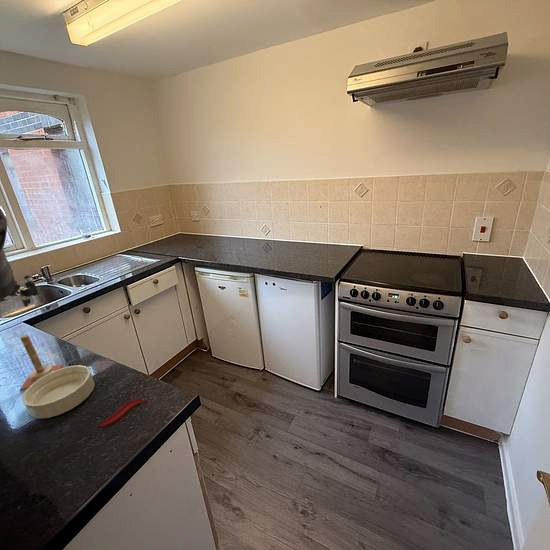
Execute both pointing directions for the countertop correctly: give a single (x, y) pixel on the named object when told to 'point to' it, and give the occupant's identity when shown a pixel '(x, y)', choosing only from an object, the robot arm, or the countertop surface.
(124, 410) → the cayenne pepper
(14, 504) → the countertop surface
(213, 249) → the countertop surface
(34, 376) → the wooden pestle
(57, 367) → the spoon rest
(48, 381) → the bowl
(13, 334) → the countertop surface
